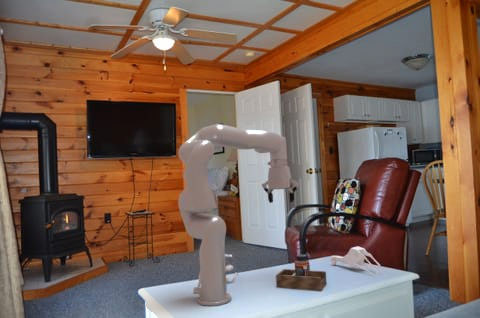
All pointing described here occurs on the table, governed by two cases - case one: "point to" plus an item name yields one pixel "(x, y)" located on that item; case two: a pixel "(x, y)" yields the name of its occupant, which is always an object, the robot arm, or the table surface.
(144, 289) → the table surface
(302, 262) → the supplement bottle
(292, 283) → the brown wooden box
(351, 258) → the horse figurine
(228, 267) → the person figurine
